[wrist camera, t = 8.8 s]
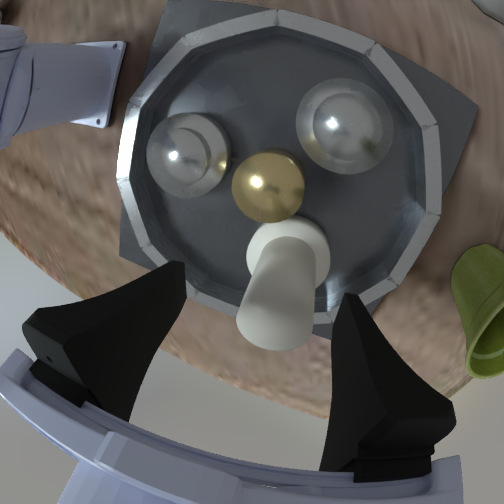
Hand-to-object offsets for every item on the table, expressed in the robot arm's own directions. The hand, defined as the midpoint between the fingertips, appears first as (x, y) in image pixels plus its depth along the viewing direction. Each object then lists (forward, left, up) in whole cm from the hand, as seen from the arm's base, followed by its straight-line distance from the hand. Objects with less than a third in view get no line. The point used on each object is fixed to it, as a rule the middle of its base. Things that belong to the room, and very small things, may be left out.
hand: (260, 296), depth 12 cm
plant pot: (+18, +2, -10) cm, 21 cm away
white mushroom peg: (+1, -2, -9) cm, 9 cm away
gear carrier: (-2, +2, -10) cm, 10 cm away
